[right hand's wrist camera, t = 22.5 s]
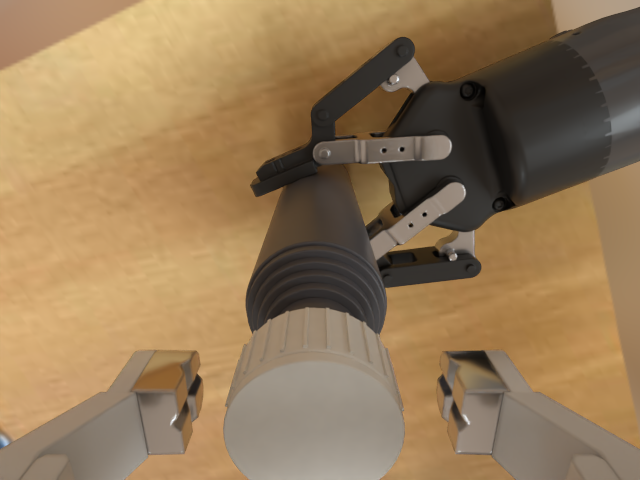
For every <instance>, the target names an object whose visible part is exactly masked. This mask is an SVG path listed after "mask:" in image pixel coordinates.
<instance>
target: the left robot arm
mask: <svg viewBox="0 0 640 480" xmlns="http://www.w3.org/2000/svg"><path fill="white" fill-rule="evenodd" d="M414 53H415V47H414V44H413V42H412V41H411V40H410V39H409V38H406V37H400V38H397V39H396V40H394V41H392V42H390V43H389V44H387V45H386V46H385V47H384V48H382V49H381V50H380V51H379V52H378V53H376V54H375V55H374V56H373V57H371V58H370V59H369V60H368V61H367V62H365V63H364V64H363V65H362V66H360V67H359V68H358V69H357V70H356V71H354V72H353V73H352V74H351V75H350V76H348V77H347V78H346V79H345V80H343V81H342V82H341V83H340V84H339V85H337V86H336V87H335V88H334V89H332V90H331V91H330V92H329V93H328V94H326V95H325V96H324V97H323V98H321V99H320V100H319V101H318V102H317V103H315V104H314V106H313V108H312V111H311V122H312V137H311V139H310V140H309V142H308V143H306V144H305V145H303V146H300V147H298V148H295V149H293V150H291V151H288V152H286V153H284V154H282V155H279V156H277V157H274V158H272V159H270V160H267V161H266V162H265V163H264V164H263V165H262V166H261V167H260V168H259V169H258V171H257V172H256V174H257V176H258V177H257V178H256V179H254V180H253V182H252V183H251V185H250V186H251V188H252V190H253V192H254V194H255V196H256V197H259V196H262V195H264V194H266V193H269V192H271V191H274V190H276V189H279V188H281V187H283V186H286V185H288V184H291V183H293V182H295V181H297V180H299V179H302V178H305V177H307V176H310V175H312V174H315V173H317V172H318V167H319V166H322V165H334V164H348V163H360V164H373V163H379V165H380V167H381V169H382V170H383V172H384V173H385V174H386V176H387V177H388V179H389V190H390V194H391V197H392V200H393V201H392V202H391V203H390V204H389V205H387V206H386V207H385V208H384V209H383V210H381V212H380V213H379V215H378V216H377V217H376V218H375V219H374V220H373V221H372V222H370V223H369V224H368V225H367V226H365V227H366V231H367V234H368V237H369V240H370V243H371V246H372V249H373V253H374V256H375V259H376V262H377V265H378V268H379V271H380V275H381V278H382V281H383V284H384V287H385V288H389V287H397V286H405V285H414V284H422V283H431V282H439V281H448V280H456V279H465V278H472V277H475V276H477V275H478V274H479V273H480V271H481V264H480V262H479V261H478V260H477V259H476V257H475V230H476V229H478V228H479V227H480V226H481V225H482V224H483V223H484V222H485V221H486V220H487V219H488V218H490V217H491V216H493V215H494V214H496V213H498V212H501V211H505V210H509V209H513V208H516V207H519V206H522V205H525V204H527V203H530V202H532V201H535V200H538V199H540V198H543V197H546V196H548V195H551V194H553V193H556V192H559V191H561V190H564V189H567V188H569V187H572V186H575V185H578V184H580V183H583V182H585V181H588V180H591V179H593V178H596V177H598V176H601V175H604V174H606V173H609V172H612V171H614V170H617V169H620V168H622V167H625V166H628V165H630V164H633V163H636V162H638V161H640V7H638V8H635V9H632V10H629V11H625V12H622V13H618V14H614V15H611V16H608V17H604V18H601V19H599V20H596V21H593V22H591V23H588V24H586V25H583V26H581V27H579V28H576V29H574V30H568V31H563V32H561V33H559V34H557V35H555V36H553V37H551V38H550V40H548V41H546V42H543V43H541V44H539V45H536V46H534V47H532V48H529V49H527V50H525V51H522V52H520V53H518V54H515V55H513V56H511V57H508V58H506V59H504V60H501V61H499V62H497V63H494V64H492V65H490V66H487V67H485V68H483V69H480V70H478V71H476V72H473V73H471V74H469V75H466V76H464V77H462V78H459V79H457V80H454V81H450V82H440V81H429V80H428V78H427V77H426V75H425V73H424V72H423V70H422V69H421V67H420V66H419V64H418V63H417V61H416V59H415V58H414ZM378 86H379V87H380V88H381V89H382V90H383V91H386V92H394V91H397V90H398V89H400V88H406V89H408V90H409V91H410V92H411V93H410V95H409V96H408V98H407V99H406V101H405V103H404V104H403V106H402V107H401V109H400V110H399V112H398V113H397V115H396V117H395V118H394V120H393V121H392V123H391V124H390V126H389V127H388V129H387V130H386V131H373V132H360V133H354V134H346V135H335V121H336V120H337V119H338V118H339V117H341V116H342V115H343V114H344V113H346V112H347V111H348V110H349V109H351V108H352V107H353V106H354V105H356V104H357V103H358V102H359V101H361V100H362V99H363V98H365V97H366V96H367V95H368V94H370V93H371V92H372V91H373V90H375V89H376V88H377V87H378ZM410 223H411V224H410ZM428 225H432V226H437V227H441V228H445V229H450V230H453V232H452V233H451V234H450V235H449V236H448V237H445V238H442V239H440V240H439V241H438V242H437V243H436V245H435V246H433V247H425V248H417V249H408V250H400V251H392V252H388V251H390V250H391V249H392V248H393V247H395V246H397V245H402V244H404V243H406V242H407V241H408V240H410V239H411V238H412V237H413V236H415V235H416V234H417V233H419V232H420V231H421V230H423V229H424V228H425V227H426V226H428Z"/></svg>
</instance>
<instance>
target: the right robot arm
mask: <svg viewBox="0 0 640 480" xmlns="http://www.w3.org/2000/svg"><path fill="white" fill-rule="evenodd" d="M199 367H200V358H199V353H198V352H197V351H185V350H138V351H136V352H134V354H133V355H132V356H131V358H130V359H129V361H128V362H127V364H126V365H125V366H124V368H123V369H122V371H121V372H120V374H119V375H118V376H117V378H116V379H115V381H114V382H113V384H112V385H111V386H110V388H109V389H108V391H107V392H100V393H98V394H96V395H94V396H93V397H91V398H89V399H87V400H86V401H84V402H82V403H80V404H79V405H77V406H75V407H73V408H72V409H70V410H68V411H66V412H65V413H63V414H61V415H59V416H58V417H56V418H54V419H52V420H51V421H49V422H47V423H45V424H44V425H42V426H40V427H38V428H37V429H35V430H33V431H31V432H30V433H28V434H26V435H24V436H23V437H21V438H19V439H17V440H16V441H14V442H12V443H10V444H9V445H7V446H5V447H3V448H2V449H0V480H124V479H125V478H126V477H127V476H129V475H130V474H131V473H132V472H133V471H134V470H135V469H136V468H137V467H138V466H139V465H140V464H141V463H142V462H143V461H144V460H146V459H147V458H148V455H165V454H185V451H186V448H187V446H188V443H189V440H190V438H191V435H192V432H193V429H192V422H193V421H194V420H195V419H197V418H198V416H199V413H200V410H201V406H202V400H203V381H202V378H201V377H200V376H199V375H198V374H197V372H198V370H199ZM440 367H441V370H442V372H443V374H442V375H441V376H440V377H439V378H438V382H437V401H438V406H439V410H440V413H441V416H442V418H443V419H445V420H446V421H447V422H448V429H447V432H448V435H449V438H450V440H451V443H452V446H453V448H454V451H455V454H475V455H492V457H493V458H494V459H495V460H496V461H497V462H498V463H499V464H500V465H501V466H502V467H503V468H504V469H505V470H506V471H507V472H508V473H510V474H511V475H512V476H513V477H514V478H515V479H516V480H640V449H638V448H636V447H635V446H633V445H631V444H629V443H628V442H626V441H624V440H622V439H621V438H619V437H617V436H615V435H614V434H612V433H610V432H608V431H607V430H605V429H603V428H601V427H600V426H598V425H596V424H594V423H593V422H591V421H589V420H587V419H586V418H584V417H582V416H580V415H579V414H577V413H575V412H574V411H572V410H570V409H568V408H567V407H565V406H563V405H561V404H560V403H558V402H556V401H554V400H553V399H551V398H549V397H547V396H546V395H544V394H542V393H540V392H533V391H532V389H531V388H530V386H529V385H528V384H527V382H526V381H525V379H524V378H523V377H522V375H521V374H520V372H519V371H518V369H517V368H516V367H515V365H514V364H513V362H512V361H511V360H510V358H509V357H508V355H507V354H506V353H505V351H503V350H482V351H442V354H441V357H440Z"/></svg>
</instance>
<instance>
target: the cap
mask: <svg viewBox="0 0 640 480" xmlns="http://www.w3.org/2000/svg"><path fill="white" fill-rule="evenodd" d="M225 406H226V407H228V408H227V411H226V415H225V418H224V427H223V431H224V440H225V444H226V448H227V450H228V453H229V455H230V457H231V459H232V460H233V462H234V464H235V465H236V466H237V468H238V469H239V470H240V471H241V472H242V473H243V474H244V475H245V476H246V477H247V478H248V479H250V480H379V479H380V478H382V477H383V476H384V475H385V474H386V473H387V472H388V471H389V470H390V469H391V467H392V466H393V464H394V463H395V461H396V460H397V458H398V456H399V454H400V452H401V449H402V446H403V442H404V435H405V424H404V419H403V414H402V411H404V408H403V404H402V400H401V396H400V392H399V388H398V385H397V381H396V377H395V373H394V369H393V365H392V362H391V358H390V355H389V351H388V348H385V347H384V345H383V344H382V342H381V340H380V336H379V334H378V333H377V334H375V333H374V332H373V331H372V330H371V329H370V328H369V327H368V326H367V325H366V323H365V322H364V321H363V322H361V321H360V320H358V319H356V318H354V317H353V316H350V315H349V313H343V312H340V311H336V310H332V309H329V308H326V309H325V308H309V307H305V309H299V310H294V311H290V312H289V311H286V312H285V313H284V314H281V315H279V316H277V317H275V318H273V319H272V320H271V319H269V320H268V321H267V323H266V324H264V325H263V326H262V327H261V328H260V329H258V330H257V331H256V330H255V331H254V332H253V335H252V337H251V339H250V340H249V342H248V343H247V345H246V344H244V346H243V349H242V353H241V356H240V360H238V364H237V367H236V371H235V374H234V377H233V381H232V384H231V387H230V391H229V394H228V398H227V401H226V405H225Z"/></svg>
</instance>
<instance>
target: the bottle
mask: <svg viewBox="0 0 640 480" xmlns="http://www.w3.org/2000/svg"><path fill="white" fill-rule="evenodd" d="M305 307H309V308H325V309H326V308H329V309H332V310H336V311H340V312H343V313H349V315H350V316H353V317H354V318H356V319H358V320H360V321H361V322H363V321H364V322H365V323H366V325H367V326H368V327H369V328H370V329H371V330H372V331H373V332H374V333H375V334H377V333H378V334H380V332H381V330H382V327H383V324H384V320H385V315H386V309H387V297H386V291H385V287H384V284H383V281H382V278H381V275H380V271H379V268H378V265H377V262H376V259H375V256H374V253H373V249H372V246H371V243H370V240H369V237H368V234H367V231H366V227H365V224H364V221H363V218H362V215H361V212H360V209H359V205H358V202H357V199H356V196H355V193H354V190H353V187H352V183H351V180H350V177H349V174H348V172H347V170H346V169H345V167H344V166H343V165H342V164H334V165H322V166H319V167H318V172H317V173H315V174H312V175H310V176H307V177H305V178H302V179H299V180H297V181H295V182H293V183H291V184H288V185H286V186H284V187H283V189H282V192H281V195H280V198H279V201H278V203H277V206H276V209H275V212H274V215H273V217H272V220H271V223H270V226H269V229H268V231H267V234H266V237H265V240H264V243H263V246H262V248H261V251H260V254H259V257H258V260H257V262H256V265H255V268H254V271H253V274H252V276H251V279H250V282H249V285H248V289H247V293H246V312H247V317H248V323H249V326H250V329H251V331H252V333H253V332H254V331H255V330H256V331H257V330H258V329H260V328H261V327H262V326H263V325H264V324H266V323H267V321H268V320H269V319H271V320H272V319H273V318H275V317H277V316H279V315H281V314H284V313H285V312H286V311H289V312H290V311H294V310H299V309H305Z"/></svg>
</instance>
